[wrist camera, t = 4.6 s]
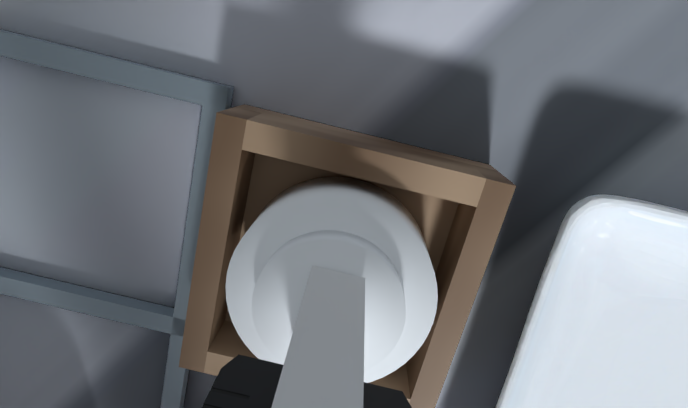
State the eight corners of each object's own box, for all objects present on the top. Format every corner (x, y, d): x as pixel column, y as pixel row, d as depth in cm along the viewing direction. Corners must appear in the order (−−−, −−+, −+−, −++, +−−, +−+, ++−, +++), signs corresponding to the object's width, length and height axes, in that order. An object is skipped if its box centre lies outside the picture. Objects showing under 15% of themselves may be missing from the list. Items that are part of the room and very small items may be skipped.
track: (234, 86, 16) (229, 87, 15) (169, 494, 21) (163, 506, 21) (-51, 16, 16) (-68, 14, 15) (-40, 446, 21) (-51, 457, 21)
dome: (451, 202, 15) (472, 237, 12) (399, 360, 17) (406, 425, 14) (263, 156, 15) (236, 179, 12) (233, 321, 17) (202, 378, 14)
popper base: (489, 164, 16) (516, 185, 13) (419, 370, 19) (428, 425, 16) (244, 104, 16) (216, 112, 13) (208, 320, 18) (178, 367, 16)
